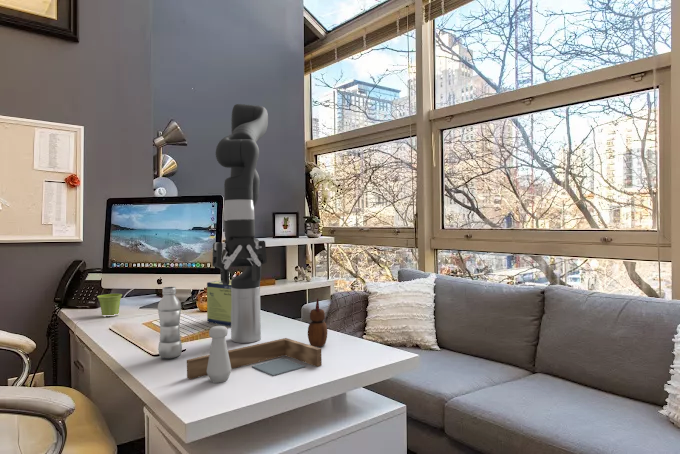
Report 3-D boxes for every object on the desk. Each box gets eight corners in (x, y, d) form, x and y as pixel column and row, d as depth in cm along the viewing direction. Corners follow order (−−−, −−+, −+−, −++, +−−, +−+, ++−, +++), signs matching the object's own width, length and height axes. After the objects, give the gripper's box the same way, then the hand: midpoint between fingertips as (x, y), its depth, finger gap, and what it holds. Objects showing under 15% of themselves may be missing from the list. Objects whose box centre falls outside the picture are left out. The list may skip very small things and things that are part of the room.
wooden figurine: (324, 348, 138) (323, 299, 138) (305, 348, 139) (305, 298, 139) (329, 343, 145) (328, 295, 145) (311, 342, 146) (311, 295, 146)
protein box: (235, 327, 169) (235, 284, 169) (206, 322, 177) (205, 282, 177) (255, 321, 178) (254, 281, 178) (226, 317, 186) (226, 279, 186)
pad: (251, 367, 122) (251, 366, 122) (282, 359, 128) (282, 358, 128) (273, 376, 114) (273, 374, 114) (305, 367, 121) (305, 366, 121)
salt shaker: (209, 376, 115) (208, 324, 115) (232, 375, 115) (232, 323, 115) (204, 384, 109) (203, 329, 109) (229, 383, 109) (228, 329, 109)
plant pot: (92, 318, 188) (91, 297, 188) (107, 313, 198) (107, 293, 197) (113, 318, 187) (112, 297, 187) (127, 314, 196) (127, 293, 196)
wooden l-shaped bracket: (187, 377, 114) (186, 359, 114) (286, 353, 134) (285, 337, 134) (218, 395, 102) (217, 375, 102) (321, 365, 122) (321, 348, 122)
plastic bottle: (159, 362, 127) (158, 290, 127) (157, 356, 133) (155, 287, 133) (184, 359, 130) (182, 288, 130) (180, 353, 136) (179, 285, 136)
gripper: (255, 219, 124) (256, 279, 124) (206, 219, 114) (207, 284, 114) (271, 217, 118) (273, 281, 118) (221, 218, 109) (223, 286, 108)
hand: (241, 282), depth 116 cm, fingers open, 8 cm apart
